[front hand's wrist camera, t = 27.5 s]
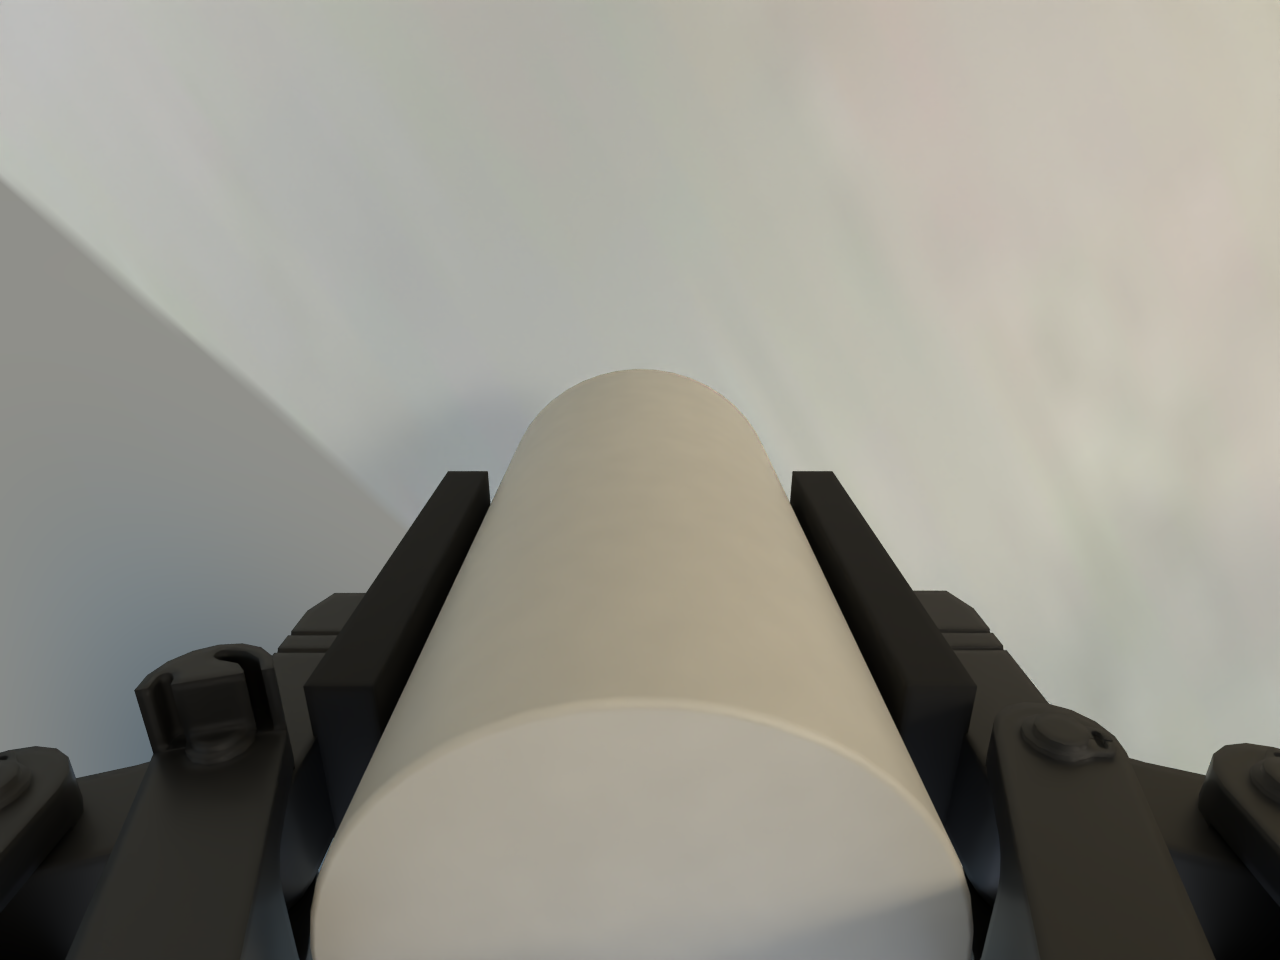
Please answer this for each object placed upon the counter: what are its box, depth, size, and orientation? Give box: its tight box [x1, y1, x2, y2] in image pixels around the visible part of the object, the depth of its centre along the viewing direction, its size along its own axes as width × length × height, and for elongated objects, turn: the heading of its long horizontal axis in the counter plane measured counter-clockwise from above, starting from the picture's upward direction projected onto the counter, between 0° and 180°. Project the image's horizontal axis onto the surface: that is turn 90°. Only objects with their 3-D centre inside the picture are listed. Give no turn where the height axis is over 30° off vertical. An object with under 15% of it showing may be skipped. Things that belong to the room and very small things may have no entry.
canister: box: [310, 369, 973, 960], centre depth 11 cm, size 6×6×11 cm
